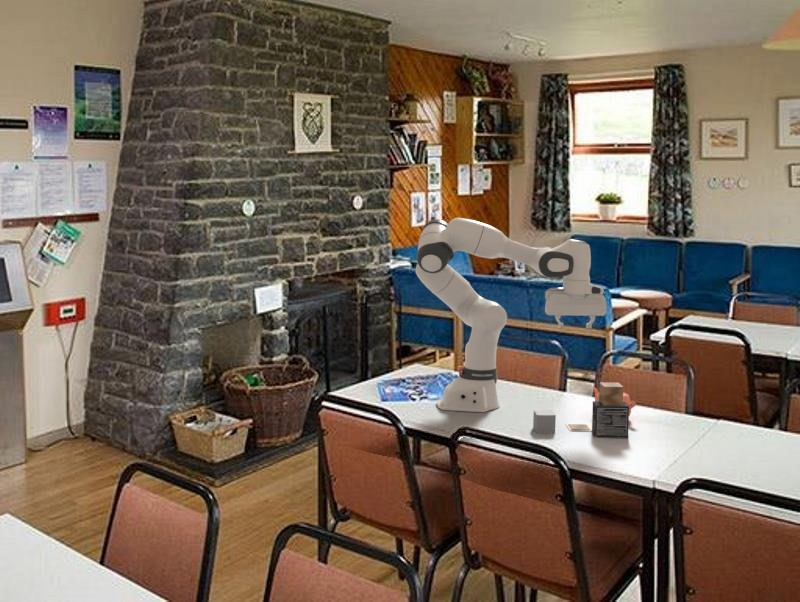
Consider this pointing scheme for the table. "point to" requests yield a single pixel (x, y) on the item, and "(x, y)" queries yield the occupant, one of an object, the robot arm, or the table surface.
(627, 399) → the teapot
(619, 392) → the walnut cube
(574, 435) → the table surface
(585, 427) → the swatch
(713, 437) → the table surface
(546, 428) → the slate cube
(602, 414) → the small box
